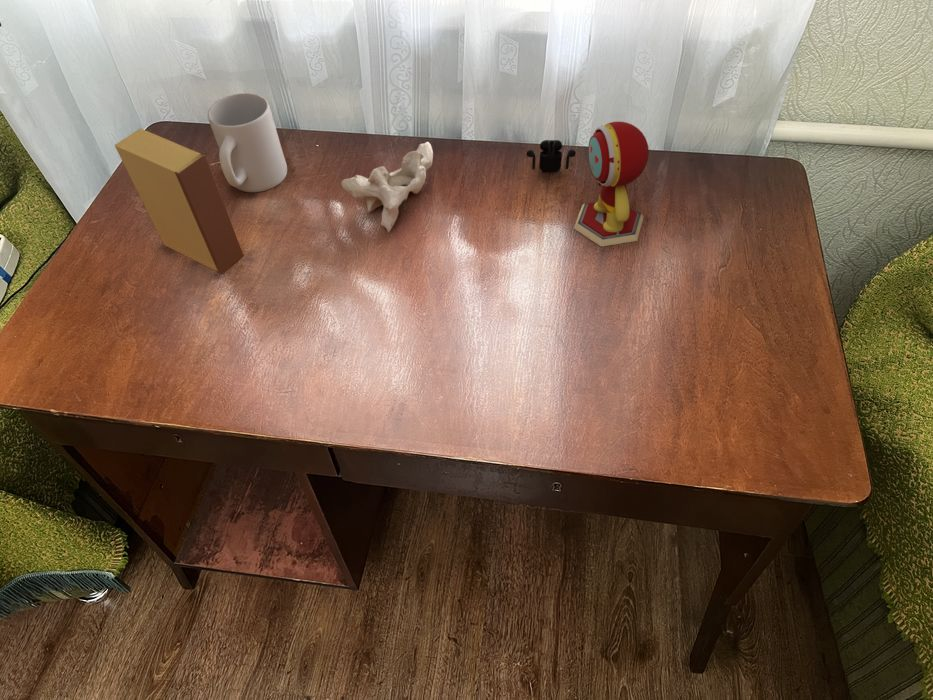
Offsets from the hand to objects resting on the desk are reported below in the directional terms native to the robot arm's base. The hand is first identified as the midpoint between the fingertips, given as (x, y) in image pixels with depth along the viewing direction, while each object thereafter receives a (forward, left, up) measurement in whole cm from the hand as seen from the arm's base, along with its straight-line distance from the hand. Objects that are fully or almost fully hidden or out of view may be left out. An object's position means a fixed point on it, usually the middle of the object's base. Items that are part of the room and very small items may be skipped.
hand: (30, 8), depth 70 cm
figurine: (+60, -17, -32) cm, 70 cm away
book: (+3, +1, -24) cm, 24 cm away
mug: (+15, +9, -32) cm, 37 cm away
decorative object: (+33, -3, -32) cm, 46 cm away
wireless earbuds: (+57, -3, -32) cm, 66 cm away
